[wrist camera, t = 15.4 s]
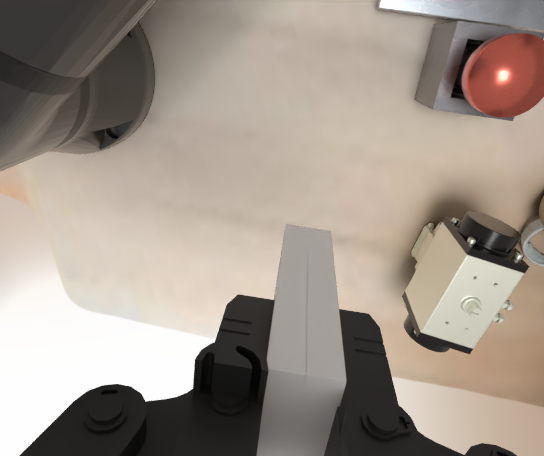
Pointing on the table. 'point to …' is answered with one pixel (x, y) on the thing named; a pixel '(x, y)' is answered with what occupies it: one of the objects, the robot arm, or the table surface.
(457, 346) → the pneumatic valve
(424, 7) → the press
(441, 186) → the table surface
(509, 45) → the plunger
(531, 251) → the ceramic mug
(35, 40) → the robot arm
